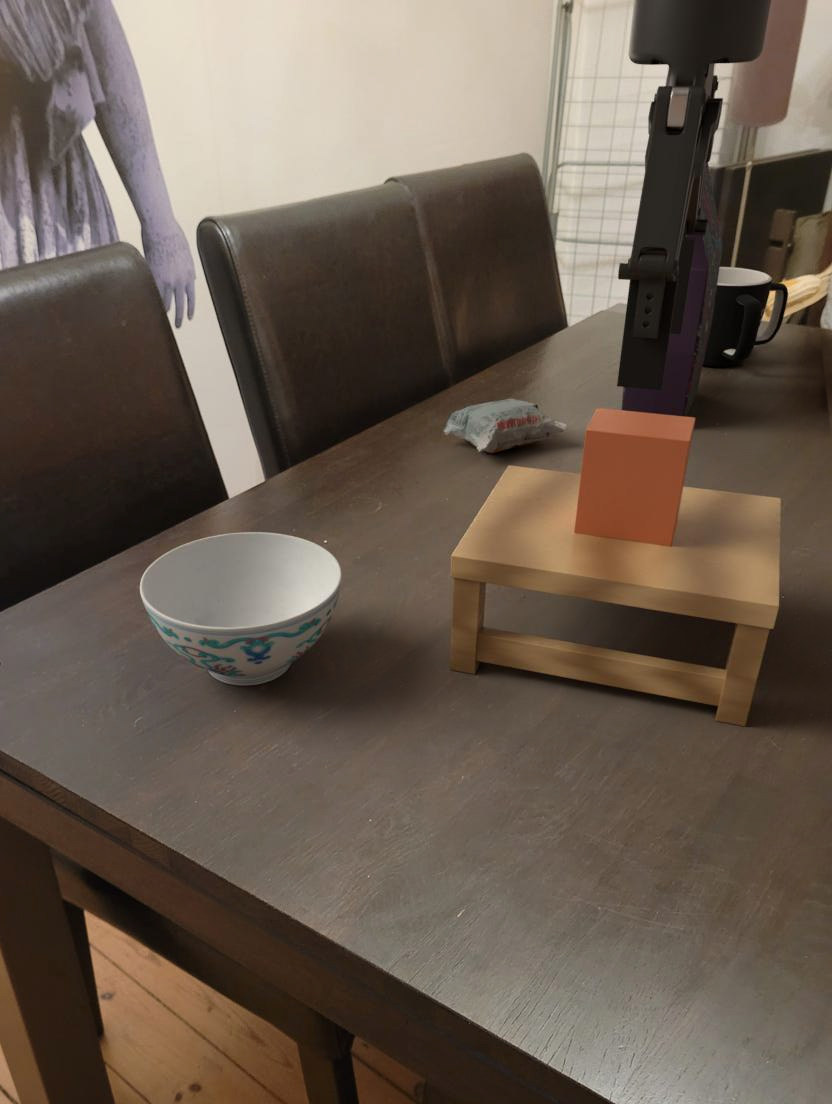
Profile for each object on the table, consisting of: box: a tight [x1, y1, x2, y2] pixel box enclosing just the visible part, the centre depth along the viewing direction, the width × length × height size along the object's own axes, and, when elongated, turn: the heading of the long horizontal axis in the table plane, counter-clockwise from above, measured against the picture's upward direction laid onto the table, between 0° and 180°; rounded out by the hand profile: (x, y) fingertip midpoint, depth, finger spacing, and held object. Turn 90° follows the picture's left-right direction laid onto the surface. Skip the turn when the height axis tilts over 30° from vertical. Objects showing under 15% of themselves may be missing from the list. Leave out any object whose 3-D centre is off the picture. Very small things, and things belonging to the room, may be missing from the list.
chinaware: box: [139, 531, 343, 687], centre depth 73 cm, size 15×15×8 cm
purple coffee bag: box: [621, 162, 723, 417], centre depth 117 cm, size 8×16×28 cm, turn 156°
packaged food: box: [443, 398, 567, 454], centre depth 113 cm, size 9×12×5 cm
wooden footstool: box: [449, 465, 782, 727], centre depth 75 cm, size 22×18×10 cm
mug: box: [703, 266, 789, 367], centre depth 139 cm, size 16×16×12 cm
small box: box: [574, 407, 697, 546], centre depth 70 cm, size 7×5×8 cm
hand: (651, 357), depth 66 cm, fingers open, 13 cm apart
